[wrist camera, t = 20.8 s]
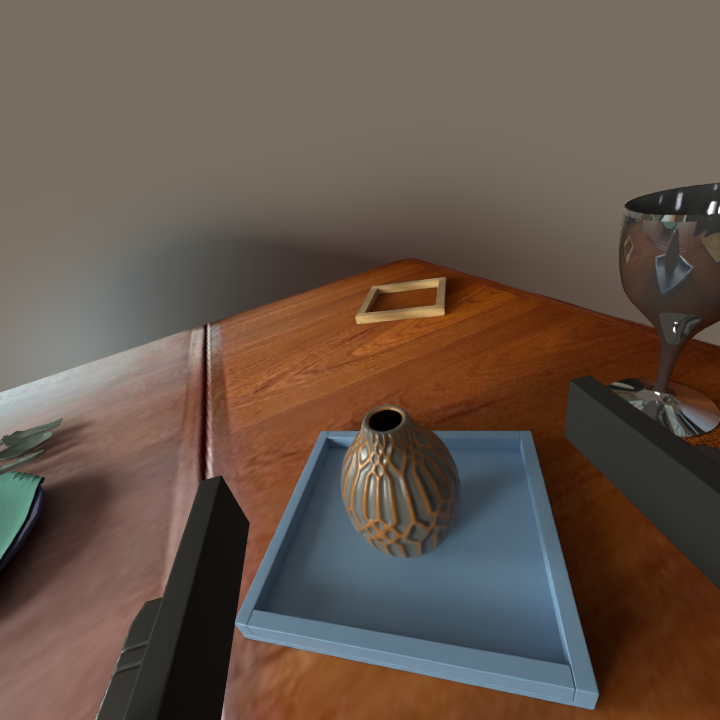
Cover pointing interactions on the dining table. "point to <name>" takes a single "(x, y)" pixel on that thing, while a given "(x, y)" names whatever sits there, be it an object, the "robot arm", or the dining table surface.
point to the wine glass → (672, 294)
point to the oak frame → (408, 313)
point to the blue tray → (432, 580)
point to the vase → (400, 484)
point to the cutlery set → (20, 489)
